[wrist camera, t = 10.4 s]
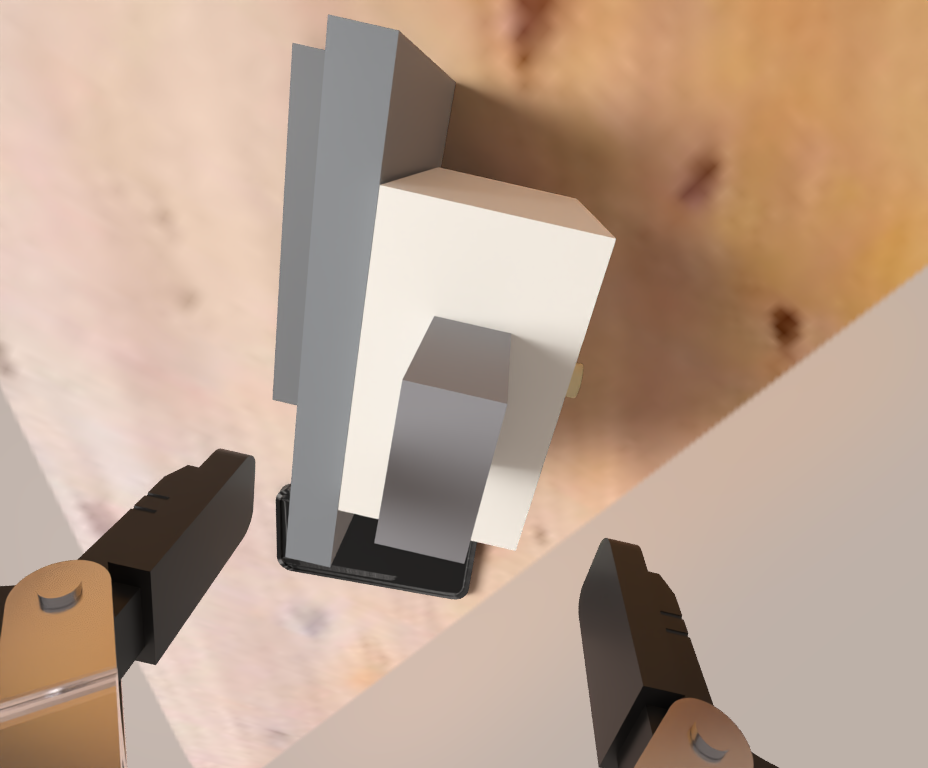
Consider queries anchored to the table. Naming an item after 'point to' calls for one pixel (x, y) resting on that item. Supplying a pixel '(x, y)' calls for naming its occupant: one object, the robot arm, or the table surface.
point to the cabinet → (466, 356)
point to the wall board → (341, 240)
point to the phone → (379, 560)
